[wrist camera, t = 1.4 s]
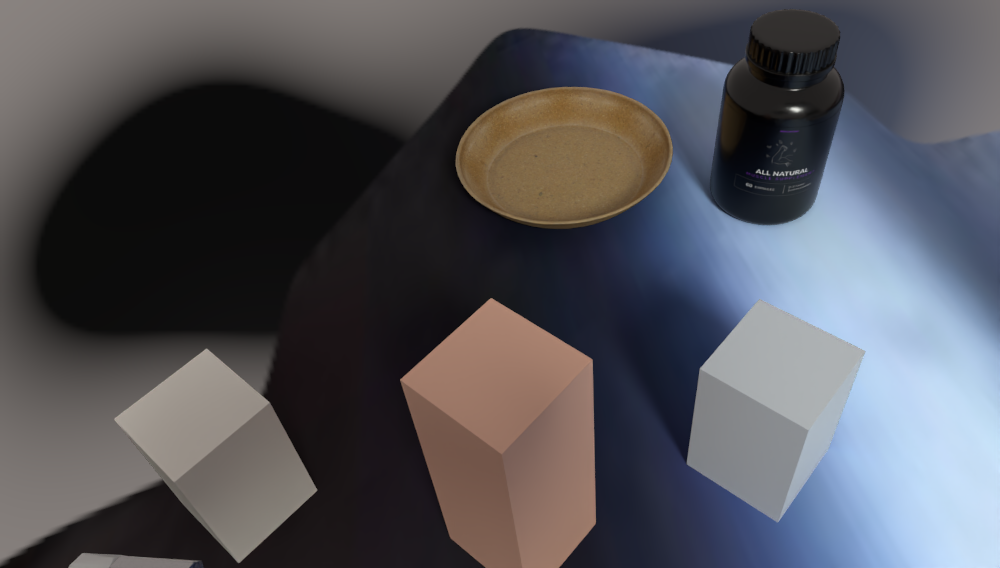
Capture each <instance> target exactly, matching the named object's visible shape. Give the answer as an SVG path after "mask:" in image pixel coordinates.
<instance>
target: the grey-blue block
mask: <svg viewBox="0 0 1000 568" xmlns="http://www.w3.org/2000/svg"><path fill="white" fill-rule="evenodd" d="M864 354H865V351H864V350H862V349H860V348H858V347H856V346H854V345H852V344H850V343H848V342H846V341H844V340H842V339H839V338H837V337H835V336H833V335H831V334H829V333H827V332H825V331H823V330H821V329H819V328H817V327H815V326H813V325H811V324H809V323H807V322H805V321H803V320H801V319H799V318H797V317H795V316H793V315H791V314H789V313H787V312H785V311H783V310H781V309H779V308H777V307H775V306H772V305H770V304H768V303H766V302H764V301H762V300H760V299H759V300H758V301H757V302H756V304H755V305H754V306H753V307H752V308H751V309H750V311H749V312H748V313H747V314H746V315H745V316H744V318H743V319H742V320H741V321H740V322H739V324H738V325H737V326H736V327H735V328H734V329H733V331H732V332H731V333H730V334H729V335H728V336H727V338H726V339H725V340H724V341H723V342H722V343H721V345H720V346H719V347H718V348H717V349H716V350H715V352H714V353H713V354H712V355H711V356H710V358H709V359H708V360H707V361H706V362H705V363H704V365H703V366H702V367H701V368H700V371H699V378H698V386H697V393H696V400H695V407H694V414H693V422H692V429H691V436H690V443H689V450H688V457H687V465H689V466H690V467H692V468H694V469H695V470H697V471H698V472H700V473H701V474H703V475H704V476H706V477H708V478H709V479H711V480H712V481H714V482H715V483H717V484H718V485H720V486H722V487H723V488H725V489H726V490H728V491H729V492H731V493H733V494H734V495H736V496H737V497H739V498H740V499H742V500H743V501H745V502H747V503H748V504H750V505H751V506H753V507H754V508H756V509H758V510H759V511H761V512H762V513H764V514H765V515H767V516H768V517H770V518H772V519H773V520H775V521H776V522H779V520H780V519H781V517H782V516H783V514H784V513H785V512H786V510H787V509H788V507H789V506H790V504H791V503H792V501H793V500H794V498H795V497H796V496H797V494H798V493H799V491H800V490H801V488H802V487H803V485H804V484H805V482H806V481H807V480H808V478H809V477H810V475H811V474H812V472H813V471H814V469H815V468H816V467H817V465H818V464H819V462H820V461H821V459H822V458H823V456H824V455H825V453H826V452H827V451H828V449H829V446H830V443H831V441H832V438H833V435H834V433H835V430H836V428H837V425H838V422H839V420H840V417H841V414H842V412H843V409H844V406H845V404H846V401H847V399H848V396H849V393H850V391H851V388H852V385H853V383H854V380H855V378H856V375H857V372H858V370H859V367H860V364H861V362H862V359H863V356H864Z"/></svg>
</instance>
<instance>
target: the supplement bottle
mask: <svg viewBox="0 0 1000 568" xmlns="http://www.w3.org/2000/svg"><path fill="white" fill-rule="evenodd" d="M839 41H840V31H839V29H838V26H836V25H835V23H834V22H833V21H831V19H829V18H826V17H825V16H824V15H820V14H818V13H814V12H811V11H804V10H795V9H790V10H786V9H784V10H777V11H774V12H769V13H767V14H764V15H762V16H761V17H759V18H757V20H756V21H754V23H753V25H752V26H751V30H750V36H749V42H748V44H747V46H746V51H745V57H744V58H743V59H741V60H740V61H739V62H737V63H736V64H735V65H734V66H733V67H732V69H731V70H730V71H729V73H728V74H727V77H726V79H725V83H724V88H723V94H722V101H721V108H720V115H719V122H718V129H717V135H716V142H715V149H714V156H713V163H712V171H711V179H710V189H711V193H712V196H713V198H714V200H715V201H716V203H717V204H718V205H719V206H720V207H721V208H722V209H723V210H724V211H725V212H727V213H728V214H730V215H731V216H733V217H735V218H737V219H739V220H742V221H745V222H748V223H753V224H759V225H777V224H783V223H787V222H790V221H793V220H795V219H797V218H799V217H801V216H802V215H804V214H805V213H806V212H807V211H808V210H809V209H810V208H811V207H812V205H813V204H814V202H815V199H816V197H817V193H818V190H819V187H820V183H821V180H822V176H823V172H824V169H825V165H826V161H827V158H828V154H829V150H830V147H831V143H832V140H833V136H834V132H835V129H836V125H837V121H838V118H839V114H840V111H841V107H842V103H843V99H844V84H843V81H842V79H841V76H840V74H839V73H838V71H837V70H836V69H835V68H834V65H835V61H836V57H837V55H836V52H837V49H838V45H839Z"/></svg>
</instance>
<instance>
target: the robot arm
mask: <svg viewBox="0 0 1000 568" xmlns="http://www.w3.org/2000/svg"><path fill="white" fill-rule="evenodd" d="M68 568H204V566H203V564H202V561H193V560H178V559H163V558H148V557H133V556H124V555H108V554H89V553H82V554H81V555H80V556H79V557H78V558H77V559H76V560H75V561H74V562H73V563H72V564H71V565H70V566H69V567H68Z"/></svg>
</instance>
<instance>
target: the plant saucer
mask: <svg viewBox="0 0 1000 568" xmlns="http://www.w3.org/2000/svg"><path fill="white" fill-rule="evenodd" d="M672 155H673V146H672V140H671V137H670V133H669V131H668V129H667V128H666V126H665V124H664V123H663V121H662V120H661V119H660V118H659V117H658V116H657V115H656V114H655V113H654V112H653V111H652V110H650V109H649V108H647V107H646V106H645V105H643V104H642V103H640V102H638V101H636V100H634V99H632V98H629V97H627V96H624V95H622V94H618V93H615V92H611V91H607V90H602V89H595V88H587V87H558V88H548V89H543V90H537V91H532V92H528V93H525V94H522V95H519V96H516V97H513V98H511V99H508V100H506V101H504V102H502V103H500V104H498V105H496V106H494V107H493V108H491V109H489V110H488V111H486V112H485V113H484V114H482V115H481V116H480V117H478V118H477V119H476V120H475V121H474V122H473V123H472V124H471V126H469V128H468V130H467V131H466V132H465V133H464V135H463V137H462V138H461V140H460V143H459V146H458V149H457V152H456V170H457V173H458V176H459V179H460V181H461V183H462V184H463V186H464V188H465V189H466V190H467V191H468V192H469V194H470V195H471V196H472V197H473V198H475V199H476V200H477V201H478V202H480V203H481V204H482V205H484V206H485V207H487V208H488V209H490V210H491V211H493V212H495V213H497V214H499V215H501V216H503V217H505V218H507V219H509V220H512V221H515V222H518V223H521V224H525V225H529V226H534V227H540V228H549V229H569V228H577V227H583V226H588V225H592V224H596V223H599V222H602V221H605V220H608V219H610V218H612V217H614V216H617V215H619V214H621V213H623V212H624V211H626V210H628V209H630V208H631V207H633V206H634V205H636V204H637V203H639V202H640V201H641V200H643V199H644V198H645V197H646V196H648V195H649V194H650V193H651V192H652V191H653V190H654V189H655V188H656V187H657V186H658V185H659V184H660V183H661V181H662V180H663V178H664V177H665V175H666V173H667V172H668V169H669V167H670V164H671V161H672Z"/></svg>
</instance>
